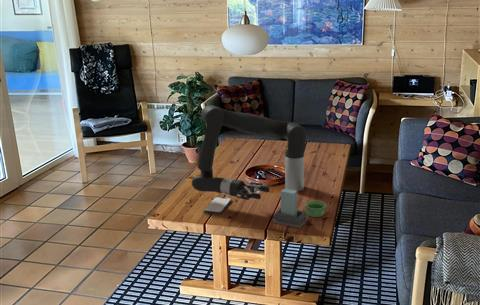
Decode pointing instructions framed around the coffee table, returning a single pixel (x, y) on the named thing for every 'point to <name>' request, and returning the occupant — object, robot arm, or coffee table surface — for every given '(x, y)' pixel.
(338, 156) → the coffee table surface
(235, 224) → the coffee table surface
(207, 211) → the phone case
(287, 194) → the tall teal prism
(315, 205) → the ramekin
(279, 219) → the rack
